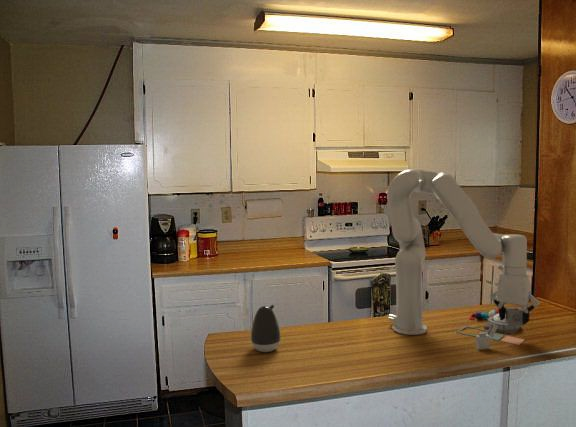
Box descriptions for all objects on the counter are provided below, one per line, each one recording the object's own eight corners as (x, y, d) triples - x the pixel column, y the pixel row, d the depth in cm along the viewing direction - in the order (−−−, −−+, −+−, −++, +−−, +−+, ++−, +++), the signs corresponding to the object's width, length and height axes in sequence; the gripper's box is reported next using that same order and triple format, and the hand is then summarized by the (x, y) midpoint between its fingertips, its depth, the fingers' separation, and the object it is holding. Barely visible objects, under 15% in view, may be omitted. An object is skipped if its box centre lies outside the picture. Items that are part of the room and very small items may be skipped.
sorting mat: (456, 332, 178) (456, 331, 178) (465, 326, 185) (465, 326, 185) (517, 346, 164) (517, 345, 164) (525, 339, 170) (525, 338, 170)
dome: (490, 324, 182) (491, 315, 181) (497, 320, 186) (497, 311, 186) (508, 328, 177) (508, 318, 177) (514, 323, 182) (514, 314, 182)
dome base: (484, 328, 182) (484, 321, 181) (494, 322, 189) (494, 314, 189) (512, 334, 175) (512, 326, 175) (521, 327, 182) (521, 319, 182)
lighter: (478, 349, 162) (478, 326, 161) (475, 347, 164) (475, 324, 163) (497, 347, 163) (497, 324, 162) (494, 345, 165) (494, 322, 164)
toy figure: (469, 324, 192) (510, 323, 185) (467, 311, 193) (508, 310, 185) (472, 320, 199) (512, 319, 191) (471, 308, 199) (510, 306, 191)
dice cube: (524, 325, 165) (523, 311, 165) (508, 325, 167) (507, 311, 166) (521, 321, 170) (520, 307, 170) (505, 321, 172) (505, 307, 171)
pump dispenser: (286, 346, 169) (285, 304, 167) (270, 357, 160) (269, 312, 158) (262, 342, 174) (260, 300, 172) (245, 351, 165) (243, 308, 164)
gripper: (484, 269, 170) (484, 319, 171) (538, 275, 158) (537, 329, 160) (492, 265, 175) (492, 314, 177) (545, 271, 163) (544, 323, 165)
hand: (513, 320), depth 168 cm, fingers closed on dice cube, 6 cm apart
